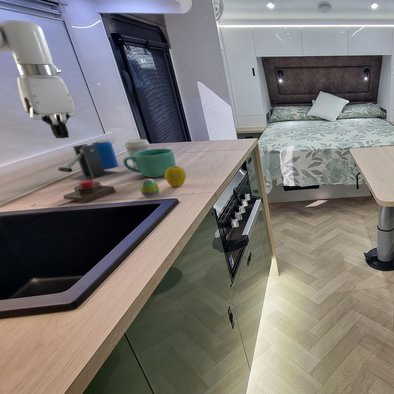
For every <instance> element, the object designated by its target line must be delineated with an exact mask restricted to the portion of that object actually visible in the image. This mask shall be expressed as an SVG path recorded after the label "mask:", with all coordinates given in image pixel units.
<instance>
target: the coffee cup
mask: <svg viewBox="0 0 394 394" xmlns="http://www.w3.org/2000/svg"><path fill="white" fill-rule="evenodd" d="M124 147H125V149H126V151H127V153H128V156H132V157H135V156H134V154H135V153H137V152H140V151H145V150H150V142H149V141H148V140H147V139H146V138H137V139H136V138H135V139H130V140H125V142H124ZM131 162H132V164H133V166H134V169H138V167H137V163H136V162H135V161H134V160H131Z"/></svg>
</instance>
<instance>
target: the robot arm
mask: <svg viewBox="0 0 394 394" xmlns="http://www.w3.org/2000/svg"><path fill="white" fill-rule="evenodd" d="M9 51H10V52H11V55H12V57H13V59H14V62H15V64H16V67H17V70H18V72H19V75H20V77H19V76H18V77H16V78H17V79H16V80H17V87H18V88H17V89H18V91H19V96H20V99H21V103H22V106H23V108H24V111H25V112H26V114H29V116H30V119H31V120H37V121H42V122H44V123H46V124H47V125H49V126H50V129H51V132H52V134H53V136H54V137H55V139H66V138H67V139H69V138H70V136H69V130H68V127H67V125H66V124H68V120H69V119H70V118H73V117H75V116H76V115H77V113H76V112H75V110H76V108H75V104H74V101H73V98H72V96H71V94H70V91H69V90H68V87H67V85H66V83H65V82H64V80H63V79H62V77H59V74H61V73H62V70H61V69H60V68H57V66H56V65H55V63H54V60H53V57H52V54H51V51H50V48H49V46H48V42H47V40H46V36H45V33H44V31H43V29H42V27H41V26H40V25H38V24H37V23H35V22H30V21H25V20H17V19H15V20H14V19H13V20H11V19H10V20H7V19H6V20H3V21H2V22H0V52H9Z"/></svg>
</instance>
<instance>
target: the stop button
mask: <svg viewBox="0 0 394 394" xmlns="http://www.w3.org/2000/svg"><path fill="white" fill-rule="evenodd" d="M94 182H95V181H94V179H93V180H79V182H78V185H79V186H80V188H86V187H91V186H94V185H95V184H94Z"/></svg>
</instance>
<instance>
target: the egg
mask: <svg viewBox="0 0 394 394" xmlns="http://www.w3.org/2000/svg"><path fill="white" fill-rule="evenodd" d="M139 190H140V193H141V195H142V196H143V197H144V198H147V199H151V198H156V197H157V196H159V193H160V188H159V185H158V184H157V182H156V181H155V180H153V179H152V178H144V179H143V180H142V181H141V183H140V189H139Z"/></svg>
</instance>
